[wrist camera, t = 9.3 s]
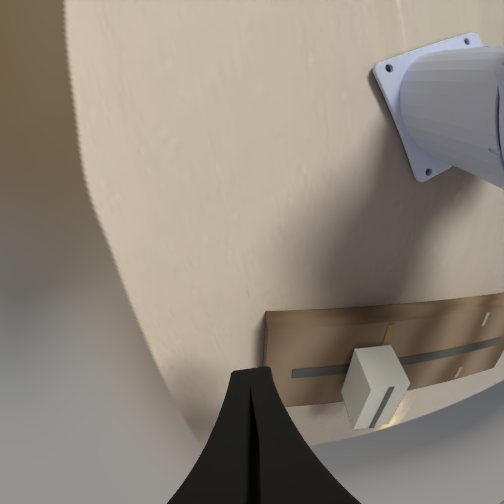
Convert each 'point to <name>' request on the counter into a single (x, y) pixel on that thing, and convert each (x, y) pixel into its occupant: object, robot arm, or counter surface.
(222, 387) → the counter surface
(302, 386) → the fader board
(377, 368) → the fader knob
